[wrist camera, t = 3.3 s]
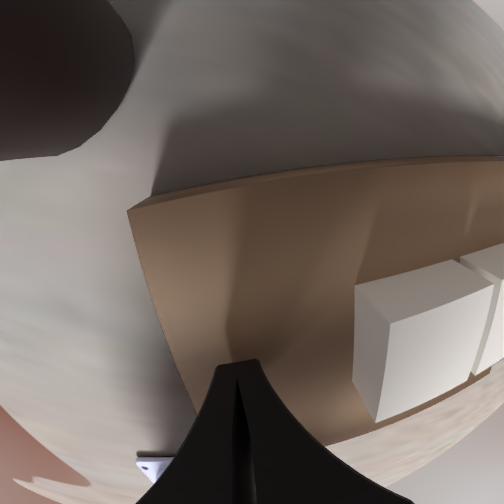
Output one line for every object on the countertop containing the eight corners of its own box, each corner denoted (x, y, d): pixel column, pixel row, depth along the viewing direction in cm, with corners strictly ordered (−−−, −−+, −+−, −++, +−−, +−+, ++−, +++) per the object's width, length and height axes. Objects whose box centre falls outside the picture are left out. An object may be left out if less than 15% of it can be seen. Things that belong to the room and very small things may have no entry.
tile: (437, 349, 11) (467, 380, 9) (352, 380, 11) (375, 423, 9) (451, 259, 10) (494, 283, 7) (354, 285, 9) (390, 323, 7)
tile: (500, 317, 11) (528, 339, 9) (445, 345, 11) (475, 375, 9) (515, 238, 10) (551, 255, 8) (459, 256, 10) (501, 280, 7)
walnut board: (464, 350, 16) (489, 373, 13) (220, 424, 15) (222, 465, 12) (486, 155, 12) (526, 161, 9) (150, 196, 11) (126, 210, 8)
